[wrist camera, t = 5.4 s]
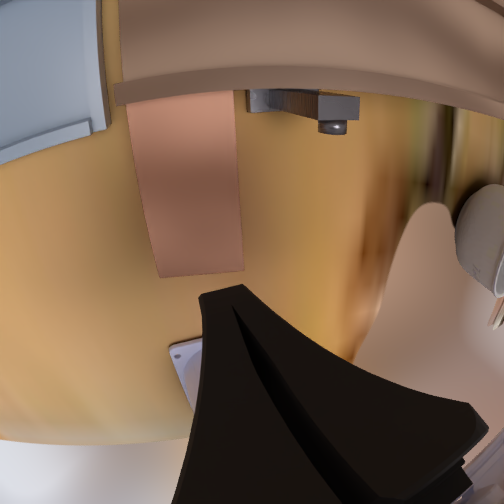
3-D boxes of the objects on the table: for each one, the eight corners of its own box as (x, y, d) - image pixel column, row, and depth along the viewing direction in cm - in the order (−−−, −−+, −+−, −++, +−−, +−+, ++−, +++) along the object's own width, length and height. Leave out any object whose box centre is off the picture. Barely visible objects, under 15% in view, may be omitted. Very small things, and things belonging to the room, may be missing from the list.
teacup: (428, 259, 28) (482, 305, 21) (465, 161, 23) (531, 195, 16) (479, 257, 33) (520, 289, 27) (507, 185, 28) (554, 212, 22)
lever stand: (313, 115, 16) (377, 134, 12) (247, 118, 15) (296, 137, 11) (306, -48, 10) (367, -78, 6) (238, -58, 9) (283, -102, 5)
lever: (480, 233, 16) (509, 259, 14) (162, 263, 15) (153, 306, 12) (505, 15, 8) (543, 18, 5) (127, -44, 7) (103, -70, 4)
